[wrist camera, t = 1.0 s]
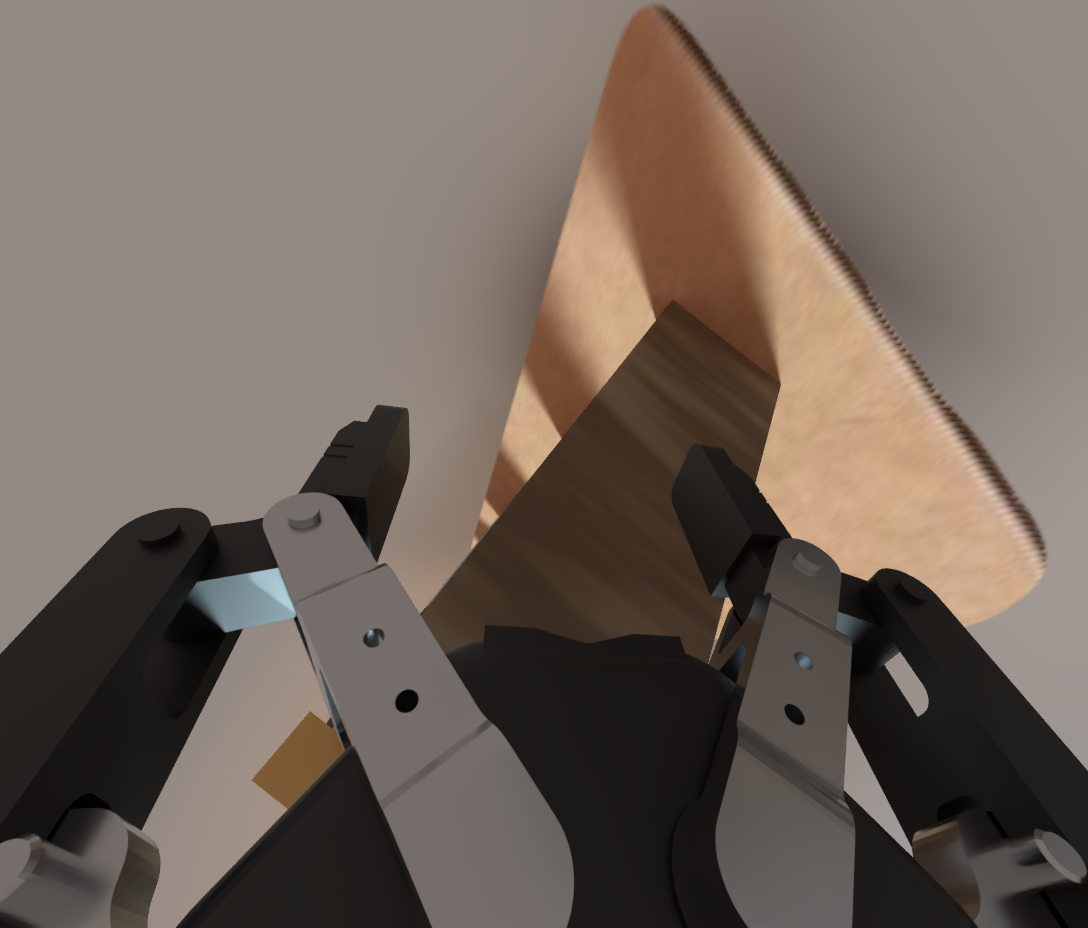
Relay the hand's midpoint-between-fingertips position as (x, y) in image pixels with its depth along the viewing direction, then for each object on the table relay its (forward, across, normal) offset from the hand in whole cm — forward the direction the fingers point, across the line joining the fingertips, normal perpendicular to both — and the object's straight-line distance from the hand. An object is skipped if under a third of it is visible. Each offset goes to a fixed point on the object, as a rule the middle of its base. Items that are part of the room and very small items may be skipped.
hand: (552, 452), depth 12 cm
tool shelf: (+23, +12, -11) cm, 28 cm away
